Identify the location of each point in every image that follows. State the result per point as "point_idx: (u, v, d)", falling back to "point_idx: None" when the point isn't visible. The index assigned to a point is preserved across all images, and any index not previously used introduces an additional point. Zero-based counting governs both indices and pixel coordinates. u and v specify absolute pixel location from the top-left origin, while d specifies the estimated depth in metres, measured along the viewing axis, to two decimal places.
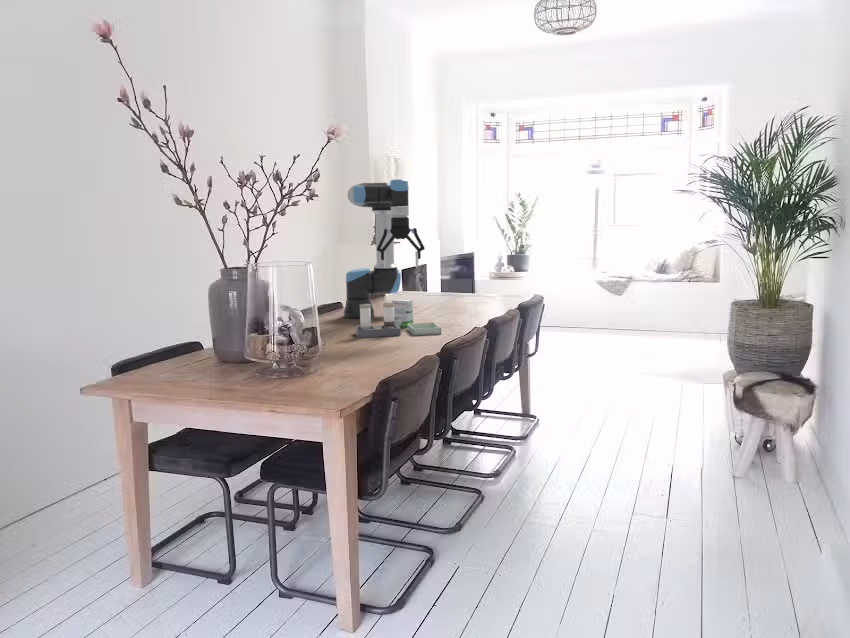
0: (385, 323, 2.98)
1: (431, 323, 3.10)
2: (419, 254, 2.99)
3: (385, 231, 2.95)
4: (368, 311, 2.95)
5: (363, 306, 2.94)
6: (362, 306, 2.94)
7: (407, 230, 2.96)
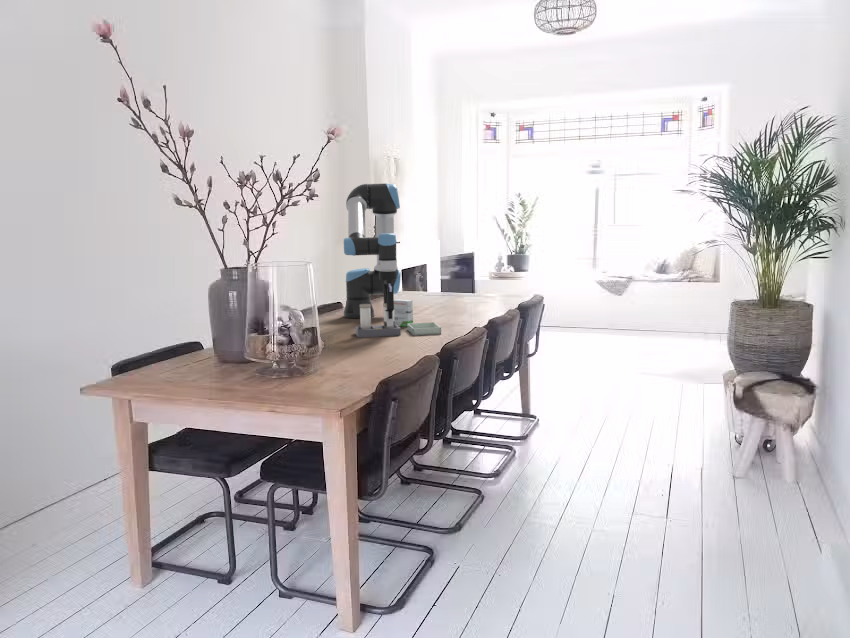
0: (385, 323, 2.98)
1: (431, 323, 3.10)
2: (388, 314, 2.95)
3: None
4: (368, 311, 2.95)
5: (363, 306, 2.94)
6: (362, 306, 2.94)
7: (386, 284, 2.94)
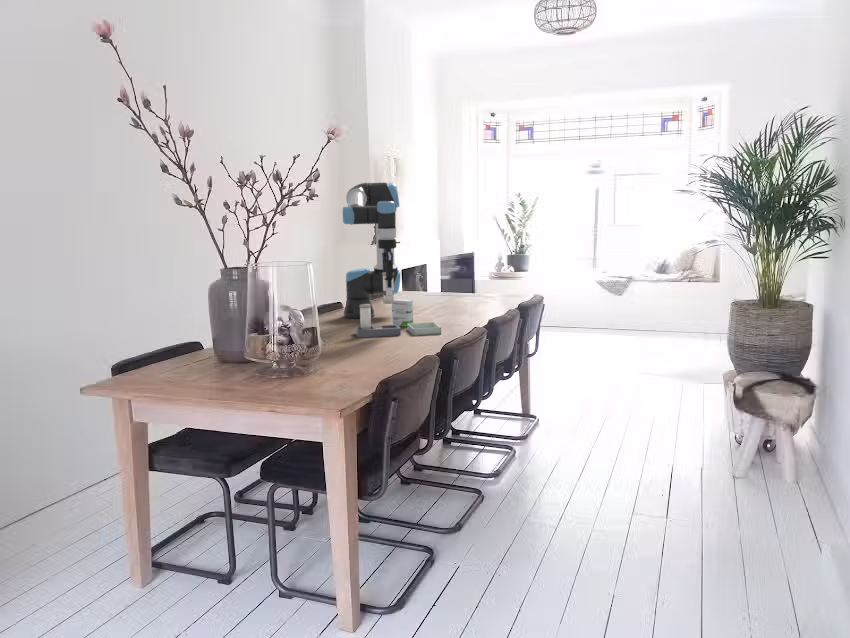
0: (384, 292, 2.96)
1: (431, 323, 3.10)
2: (387, 283, 2.93)
3: (382, 255, 3.00)
4: (368, 311, 2.95)
5: (363, 306, 2.94)
6: (362, 306, 2.94)
7: (385, 253, 2.92)
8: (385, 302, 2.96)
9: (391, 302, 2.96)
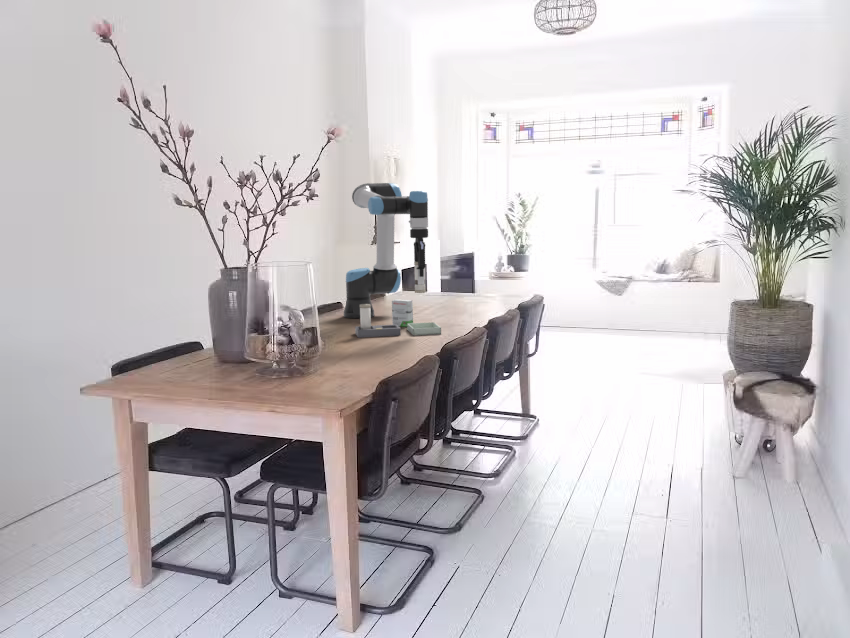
0: (416, 281, 2.98)
1: (431, 323, 3.10)
2: (419, 272, 2.95)
3: (414, 245, 3.02)
4: (368, 311, 2.95)
5: (363, 306, 2.94)
6: (362, 306, 2.94)
7: (418, 242, 2.93)
8: (417, 291, 2.98)
9: (423, 291, 2.98)
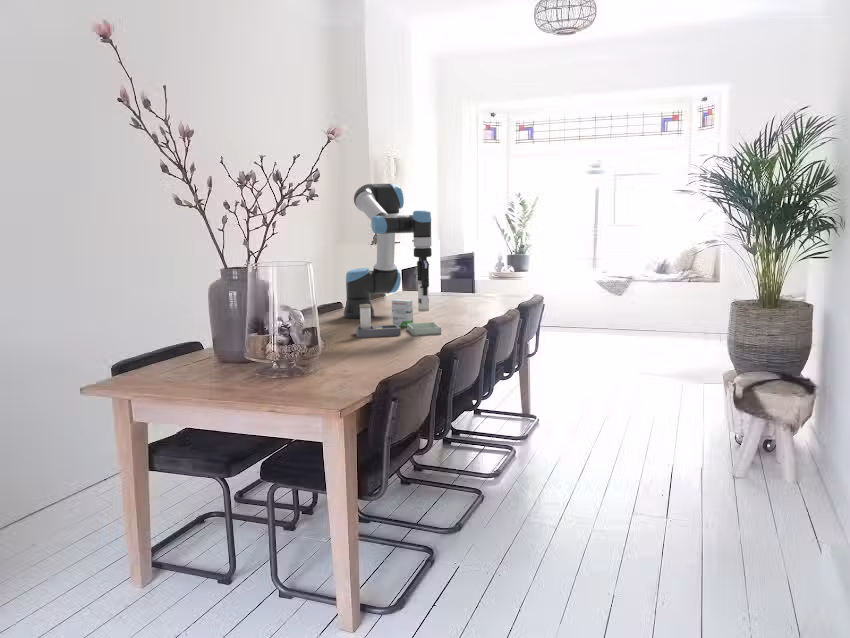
0: (420, 300, 2.99)
1: (431, 323, 3.10)
2: (423, 291, 2.96)
3: (417, 264, 3.04)
4: (368, 311, 2.95)
5: (363, 306, 2.94)
6: (362, 306, 2.94)
7: (421, 261, 2.95)
8: (420, 310, 3.00)
9: (426, 310, 3.00)
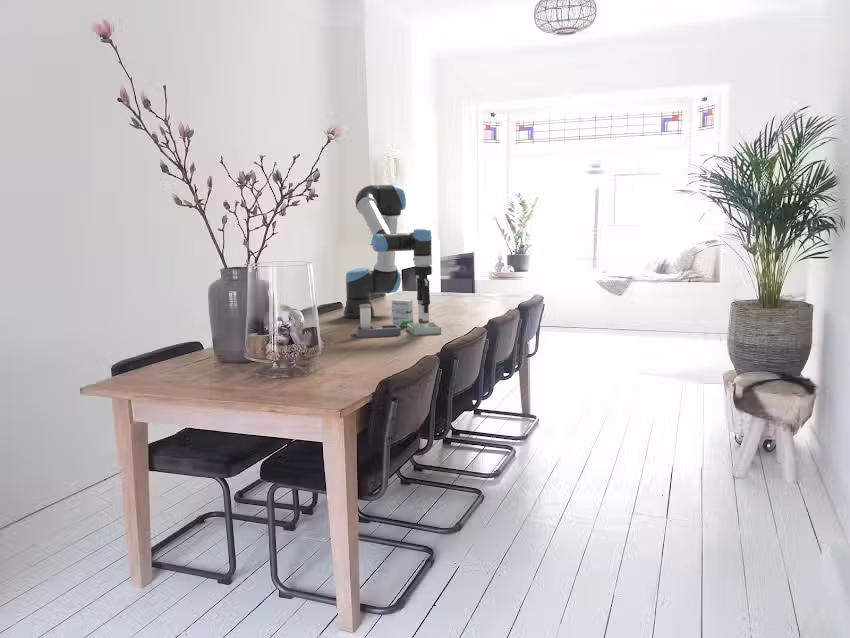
0: (420, 320, 3.01)
1: (431, 323, 3.10)
2: (424, 308, 2.96)
3: (417, 280, 3.05)
4: (368, 311, 2.95)
5: (363, 306, 2.94)
6: (362, 306, 2.94)
7: (421, 279, 2.96)
8: None
9: None
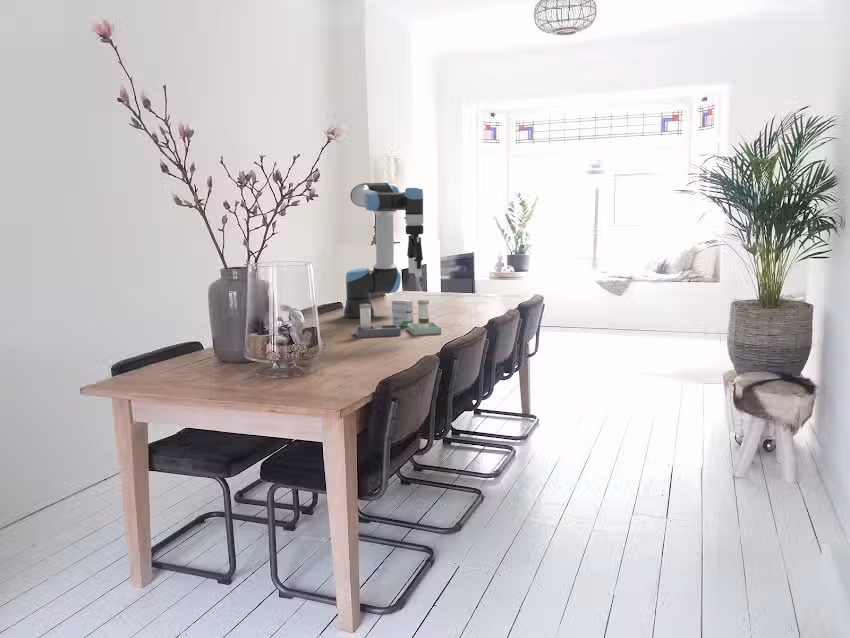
0: (420, 320, 3.01)
1: (431, 323, 3.10)
2: (417, 264, 2.93)
3: None
4: (368, 311, 2.95)
5: (363, 306, 2.94)
6: (362, 306, 2.94)
7: (413, 238, 2.95)
8: None
9: None
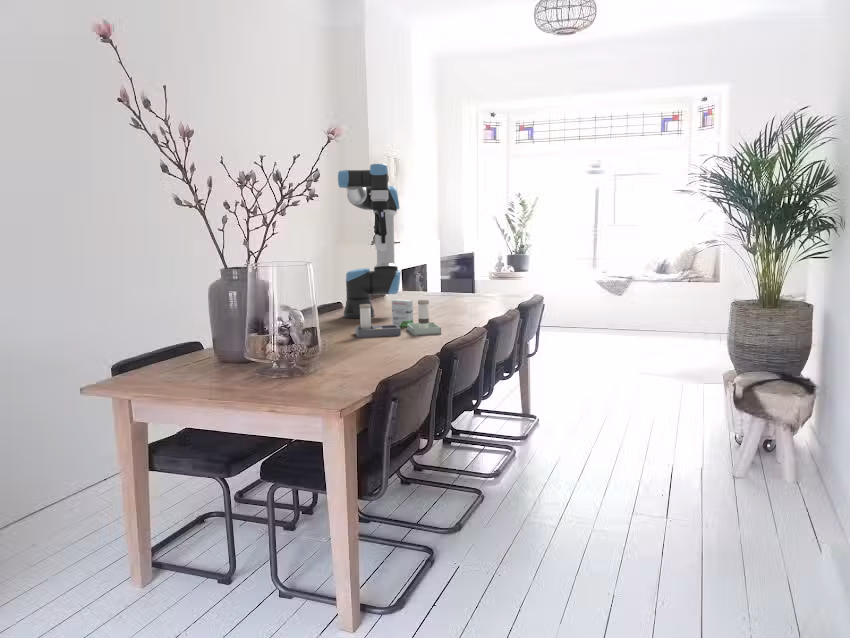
0: (420, 320, 3.01)
1: (431, 323, 3.10)
2: (381, 238, 2.97)
3: (375, 214, 3.09)
4: (368, 311, 2.95)
5: (363, 306, 2.94)
6: (362, 306, 2.94)
7: (378, 214, 3.00)
8: None
9: None
